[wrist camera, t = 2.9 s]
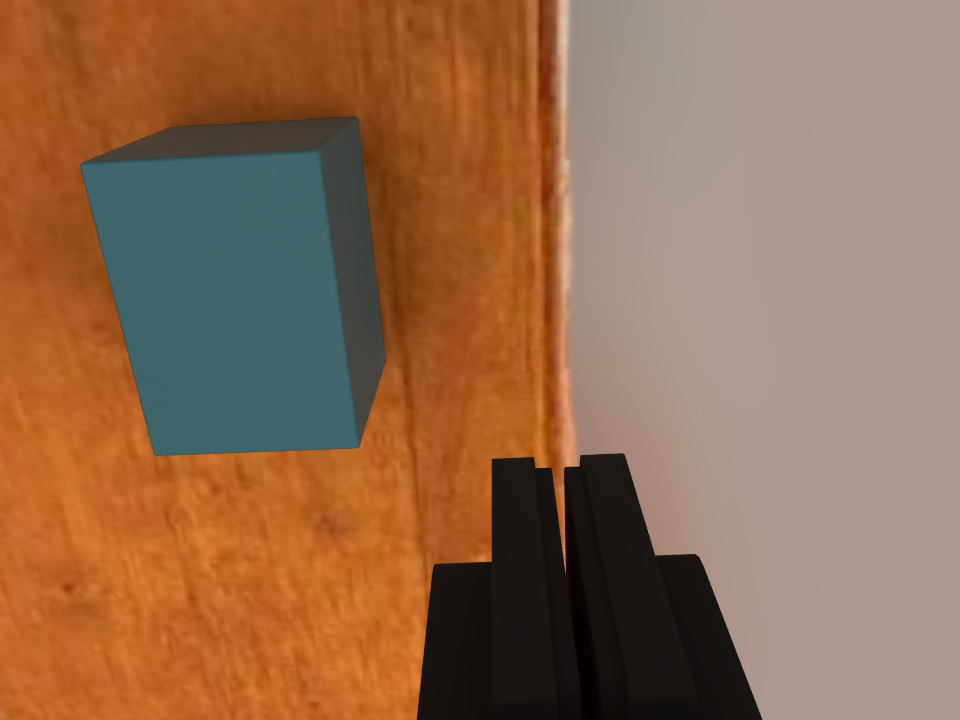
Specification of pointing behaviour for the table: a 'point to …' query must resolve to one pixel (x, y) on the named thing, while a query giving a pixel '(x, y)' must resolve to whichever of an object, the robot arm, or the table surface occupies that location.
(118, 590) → the table surface
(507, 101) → the table surface
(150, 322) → the box
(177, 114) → the table surface
